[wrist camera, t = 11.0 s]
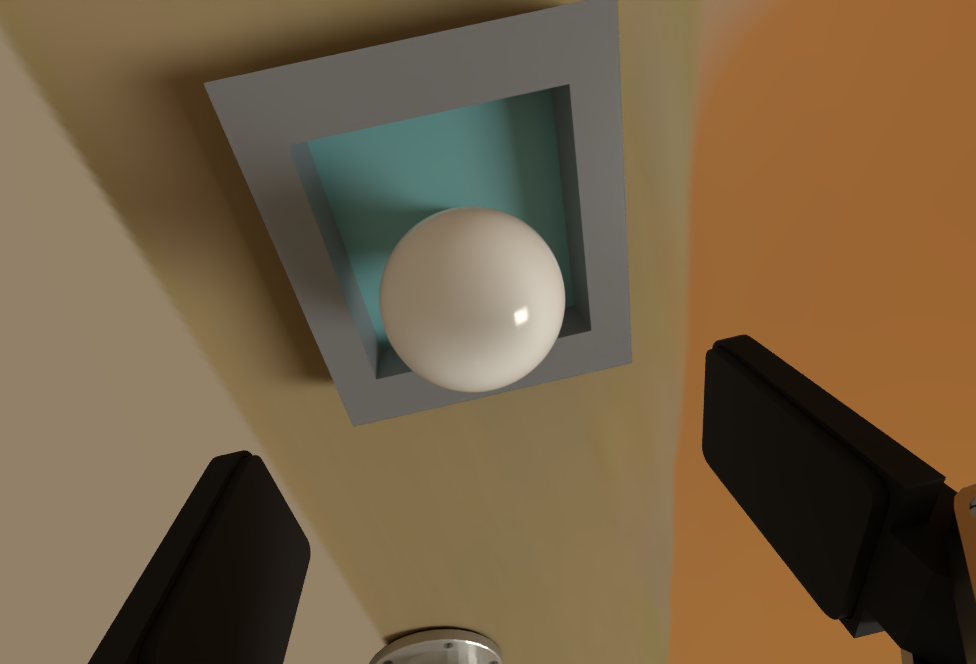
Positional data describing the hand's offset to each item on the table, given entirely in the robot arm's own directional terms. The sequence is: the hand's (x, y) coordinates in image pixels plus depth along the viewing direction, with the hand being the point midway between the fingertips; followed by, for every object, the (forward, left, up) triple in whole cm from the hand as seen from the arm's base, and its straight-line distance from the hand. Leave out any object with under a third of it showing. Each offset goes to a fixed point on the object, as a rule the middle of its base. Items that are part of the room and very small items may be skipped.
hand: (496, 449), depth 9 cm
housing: (0, 0, -16) cm, 16 cm away
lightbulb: (0, 0, -15) cm, 15 cm away
